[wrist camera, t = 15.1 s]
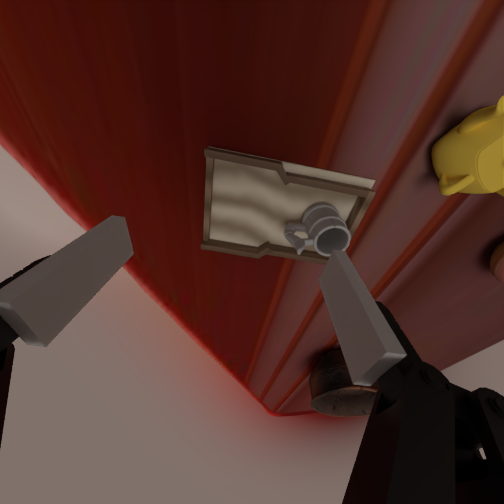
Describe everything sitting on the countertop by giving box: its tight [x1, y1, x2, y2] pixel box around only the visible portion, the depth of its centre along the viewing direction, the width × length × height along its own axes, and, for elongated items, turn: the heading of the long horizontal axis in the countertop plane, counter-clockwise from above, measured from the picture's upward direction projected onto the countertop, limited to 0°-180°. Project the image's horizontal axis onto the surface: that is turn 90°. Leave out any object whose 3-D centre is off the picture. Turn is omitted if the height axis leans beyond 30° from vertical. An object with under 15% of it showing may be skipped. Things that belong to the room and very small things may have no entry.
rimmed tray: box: [201, 146, 376, 264], centre depth 41 cm, size 20×32×4 cm, turn 80°
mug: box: [284, 203, 351, 256], centre depth 37 cm, size 8×12×12 cm, turn 99°
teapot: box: [431, 96, 504, 197], centre depth 31 cm, size 14×13×10 cm
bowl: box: [309, 350, 380, 417], centre depth 68 cm, size 25×25×15 cm
